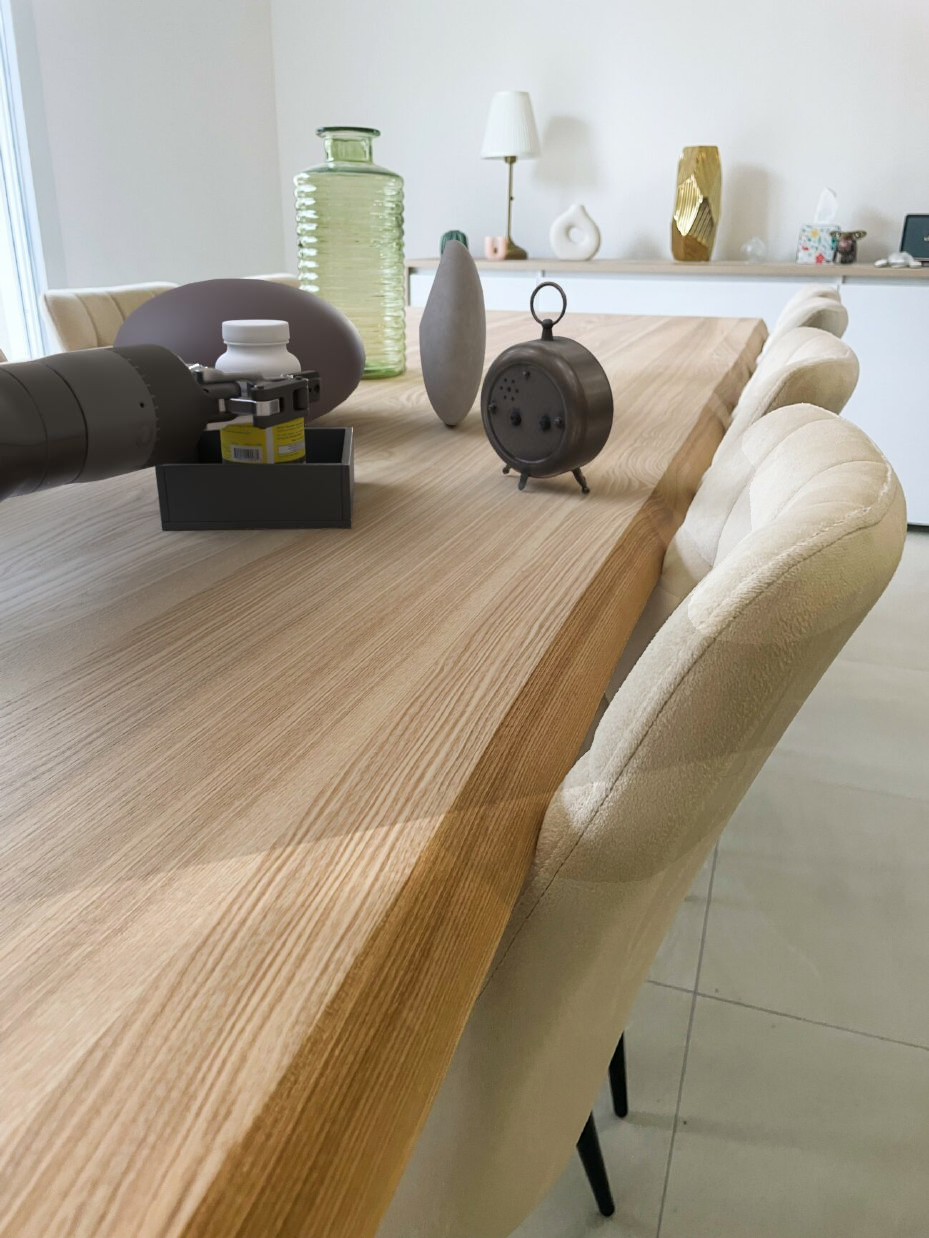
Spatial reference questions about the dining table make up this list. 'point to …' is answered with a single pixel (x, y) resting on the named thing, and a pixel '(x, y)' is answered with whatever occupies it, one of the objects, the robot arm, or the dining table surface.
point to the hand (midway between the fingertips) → (279, 381)
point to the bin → (260, 487)
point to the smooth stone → (201, 307)
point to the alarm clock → (547, 404)
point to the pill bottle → (258, 351)
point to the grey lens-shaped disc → (453, 335)
